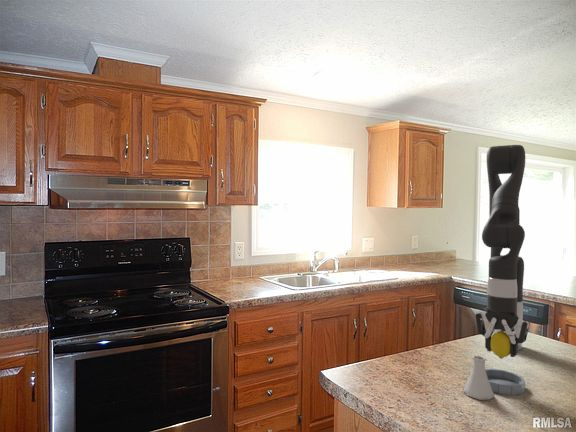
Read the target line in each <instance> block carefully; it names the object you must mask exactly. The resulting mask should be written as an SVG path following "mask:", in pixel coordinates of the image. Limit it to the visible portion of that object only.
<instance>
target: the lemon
mask: <svg viewBox="0 0 576 432" xmlns="http://www.w3.org/2000/svg"><path fill="white" fill-rule="evenodd" d="M510 344H511V340H510V338H509V336H508V335H507V333H505V332H503V331H502V330H500V331H499V332H496V333H493V335H492V337H491V341H490V345H491V350H492V351H491V352H492V353H493V354H494V355H495V356H497V357H498V358H499V359H500V360H503V359H504V358H506V357H508V356H510Z"/></svg>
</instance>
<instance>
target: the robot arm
mask: <svg viewBox="0 0 576 432" xmlns="http://www.w3.org/2000/svg"><path fill="white" fill-rule="evenodd" d="M486 151H487V152H486V169H487V179H488V180H487V182H488V194H489V205H488V206H489V207H488V208H489V211H488V217H489V218H488V219H487V222H486V224H485V225H484V227H483V230H482V232H481V240H482V243H483V244H484V245H485V246H486V247H487V248H490V258H489V261H488V279H487V288H486V292H487V293H486V312H484V313H483V312H477V313H475V322H476V327H477V333H478V335H481V336H483V337H484V341H485V342H484V345H485V346H484V348H485V349H486V351H487V352H489V353H490V352H492V350H491V345H490V341H491V337H492V335H493V334H494V333H496V332H499V331H500V330H502V331H503V332H505V333H507V335H508V336H509V338H510V340H511V344H510V355H509V356H510V358H514V357H516V356H517V355H518V354H519V351H521V350H522V349H523V343H525V342H526V341H527V339H528V338H527V337H528V333H529V329H530V326H531V325H530V324H531V323H530V321H529V320H523V317H524V316H523V315H524V314H523V304H524V303H523V302H524V297H523V296H524V293H523V292H524V291H523V290H524V276H525V275H524V273H525V261H524V259H523V257H522V256H520V253H521V252H520V251H521V249H522V247H523V244H524V240H525V237H526V232H525V229H524V228H523V226H522V225H521V224H520V222H521V221H520V207H519V199H520V191H521V188H522V183H523V178H524V175H525V173H524V172H525V167H526V151H525V146H523V145H521V144H509V145H508V144H507V145H496V146H495V145H493V146H490V147H489V148H488V149H487V150H486ZM507 174H508V175H510V176H509V177H508V178H507V179H506V180H505V181H504V182H503V183H502V181H501V178H500V175H507ZM503 249H509V251H508V253H506V254H504V255H501V254H502V251H503ZM486 319H487V322H488V323H489V325H488V326H487V329H486V325H485V324H486V323H485V321H486Z"/></svg>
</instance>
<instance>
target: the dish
mask: <svg viewBox="0 0 576 432" xmlns="http://www.w3.org/2000/svg"><path fill="white" fill-rule="evenodd" d="M485 370H486V374H487V377H488V380H489V383H490V386H491V388H492V391H493V393H496V394H500V395H501V394H502V395H506V396H507V395H509V396H514V395H515V396H516V395H521V394H523V393H525V391H526V381H525V379H524V378H523V377H522V376H520V375H519V374H517V373H514V372H511V371H507V370H504V369H499V368H498V369H497V368H485Z"/></svg>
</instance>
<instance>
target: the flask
mask: <svg viewBox="0 0 576 432" xmlns="http://www.w3.org/2000/svg"><path fill="white" fill-rule="evenodd" d="M471 358H472V360H473V363H472V369H471V372H470V374H469V377H468V380H466V381H467V382H466V383H465V385H464V388H463V391H462V392H463V393H464V394H465V395H467V396H468V397H471V398H474V399H476V400H479V401H480V400H483V401H485V400H491V399H493V398H494V397H495V392H493V391H492V388H491V386H490V383H489V380H488V377H487V374H486V370H485V369H486V364H485V363H486V361H487V358H486V357H484V356H482V355H473V356H472V357H471Z"/></svg>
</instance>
